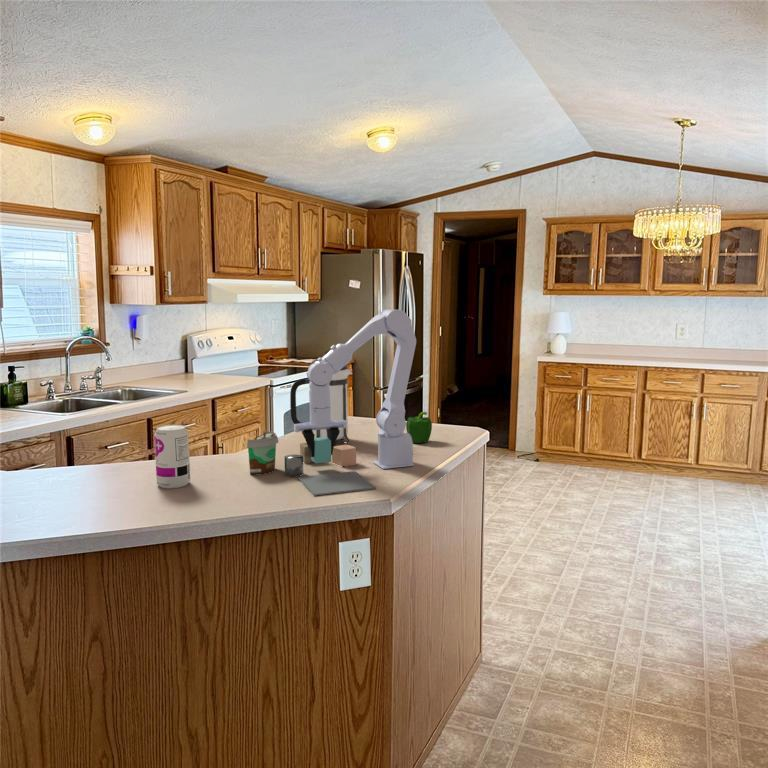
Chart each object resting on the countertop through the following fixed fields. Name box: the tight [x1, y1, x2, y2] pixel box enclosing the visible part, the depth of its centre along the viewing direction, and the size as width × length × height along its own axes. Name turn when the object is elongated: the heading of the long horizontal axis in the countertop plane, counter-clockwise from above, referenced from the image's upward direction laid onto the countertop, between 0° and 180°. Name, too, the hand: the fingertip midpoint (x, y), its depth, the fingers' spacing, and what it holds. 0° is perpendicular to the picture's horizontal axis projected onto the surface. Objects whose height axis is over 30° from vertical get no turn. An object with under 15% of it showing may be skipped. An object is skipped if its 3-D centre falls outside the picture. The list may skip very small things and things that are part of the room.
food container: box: [246, 430, 279, 476], centre depth 184 cm, size 12×6×10 cm, turn 168°
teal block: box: [311, 437, 332, 464], centre depth 184 cm, size 4×4×6 cm
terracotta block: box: [331, 443, 357, 467], centre depth 191 cm, size 5×5×5 cm
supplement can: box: [153, 424, 191, 489], centre depth 171 cm, size 8×8×15 cm
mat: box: [297, 470, 377, 497], centre depth 172 cm, size 16×16×1 cm
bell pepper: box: [405, 411, 433, 444], centre depth 218 cm, size 8×8×10 cm
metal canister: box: [284, 453, 304, 478], centre depth 181 cm, size 5×5×5 cm
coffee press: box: [289, 349, 353, 444], centre depth 217 cm, size 17×16×30 cm
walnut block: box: [299, 442, 313, 464], centre depth 195 cm, size 5×5×5 cm
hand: (321, 455), depth 185 cm, fingers closed on teal block, 4 cm apart
